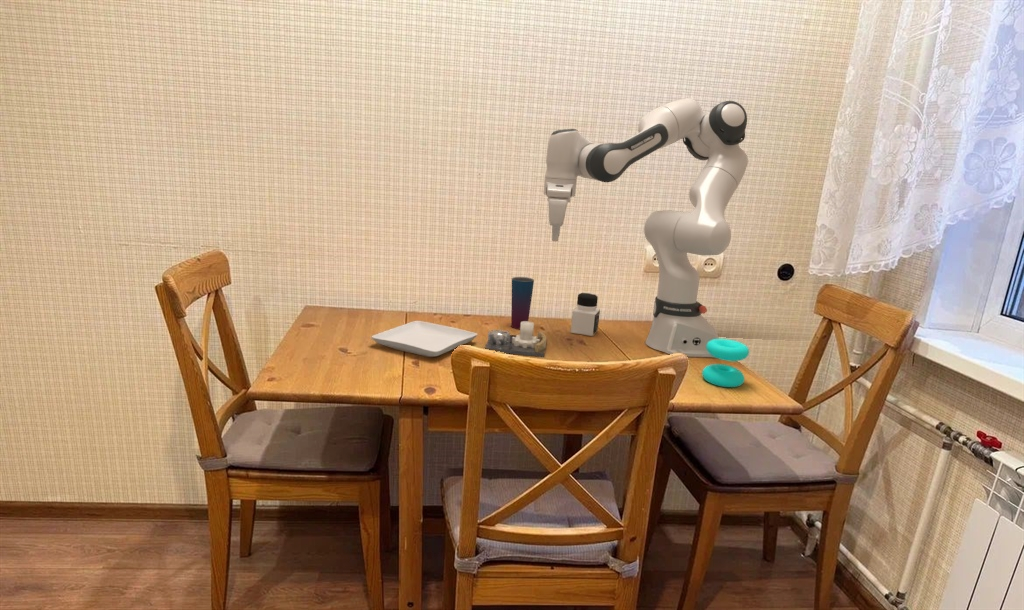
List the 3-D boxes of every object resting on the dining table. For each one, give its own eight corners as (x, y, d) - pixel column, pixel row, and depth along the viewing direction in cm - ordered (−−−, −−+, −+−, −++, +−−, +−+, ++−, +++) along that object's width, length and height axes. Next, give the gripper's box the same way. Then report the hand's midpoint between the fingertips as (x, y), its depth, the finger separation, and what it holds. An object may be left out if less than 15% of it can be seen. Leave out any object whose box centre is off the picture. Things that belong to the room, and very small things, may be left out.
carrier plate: (546, 341, 173) (547, 330, 172) (543, 357, 159) (545, 344, 158) (491, 336, 174) (492, 324, 173) (484, 351, 161) (484, 338, 160)
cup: (531, 324, 189) (534, 277, 185) (529, 330, 183) (533, 282, 179) (509, 322, 190) (512, 276, 186) (507, 328, 183) (510, 280, 179)
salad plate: (416, 329, 177) (416, 318, 176) (478, 343, 168) (479, 332, 167) (368, 348, 158) (368, 335, 157) (436, 365, 149) (436, 351, 148)
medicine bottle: (593, 336, 181) (597, 297, 178) (570, 332, 183) (573, 294, 180) (597, 330, 188) (601, 293, 185) (575, 327, 190) (579, 290, 187)
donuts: (739, 338, 153) (757, 350, 144) (733, 375, 156) (750, 390, 146) (701, 336, 153) (716, 348, 143) (695, 373, 155) (710, 388, 146)
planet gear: (540, 341, 170) (541, 320, 168) (538, 349, 162) (540, 327, 161) (513, 338, 170) (515, 318, 169) (510, 346, 163) (512, 325, 161)
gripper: (550, 186, 177) (546, 233, 181) (546, 190, 158) (542, 242, 161) (571, 188, 177) (567, 235, 180) (570, 192, 157) (566, 244, 161)
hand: (555, 238), depth 171 cm, fingers open, 8 cm apart
